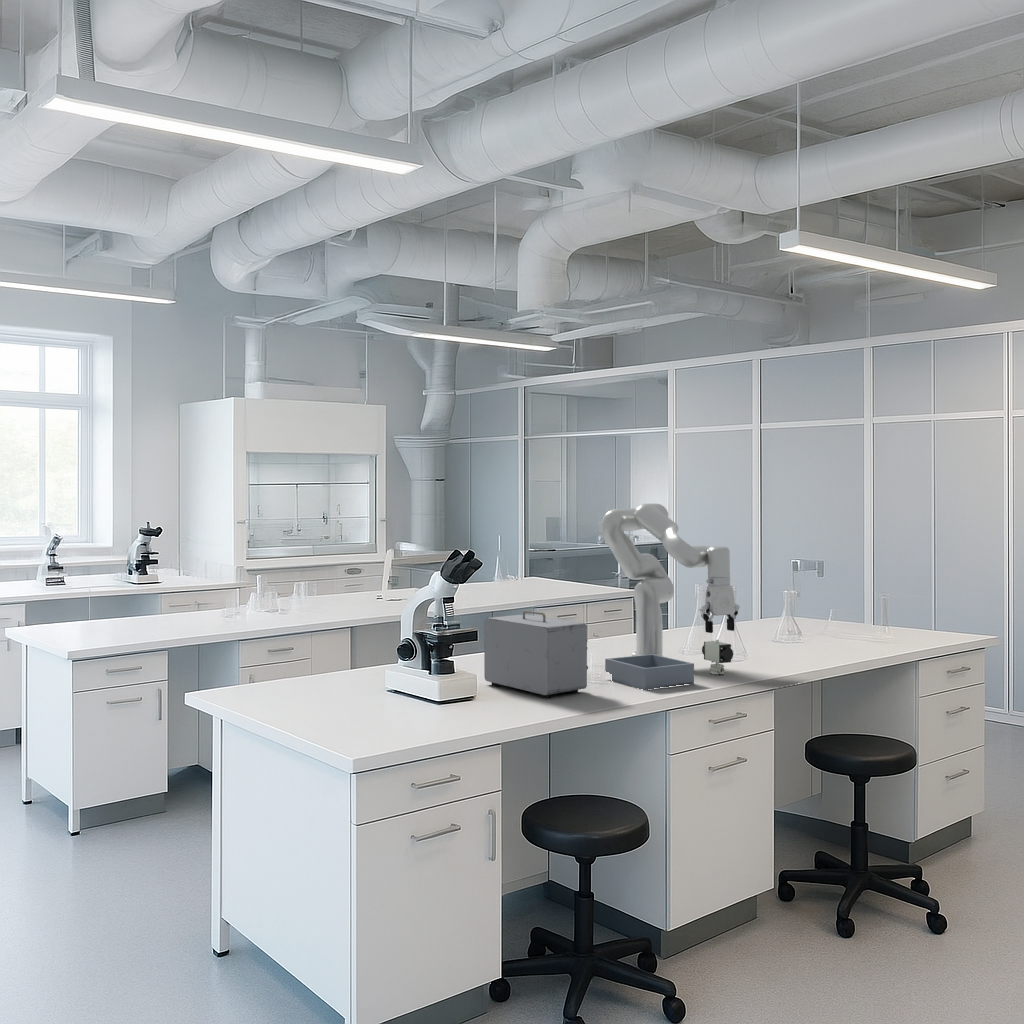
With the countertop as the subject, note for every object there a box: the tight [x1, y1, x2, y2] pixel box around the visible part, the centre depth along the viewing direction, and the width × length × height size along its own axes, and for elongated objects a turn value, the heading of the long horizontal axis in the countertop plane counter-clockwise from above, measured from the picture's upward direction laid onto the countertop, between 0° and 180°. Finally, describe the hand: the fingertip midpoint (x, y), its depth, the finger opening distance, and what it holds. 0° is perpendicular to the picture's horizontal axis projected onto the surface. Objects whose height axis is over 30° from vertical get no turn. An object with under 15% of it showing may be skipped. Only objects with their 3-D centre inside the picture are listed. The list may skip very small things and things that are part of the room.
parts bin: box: [604, 654, 695, 691], centre depth 325 cm, size 22×20×7 cm
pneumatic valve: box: [701, 639, 734, 675], centre depth 340 cm, size 6×12×12 cm, turn 27°
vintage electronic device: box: [483, 609, 589, 699], centre depth 314 cm, size 32×18×25 cm, turn 39°
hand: (720, 631), depth 339 cm, fingers open, 9 cm apart
